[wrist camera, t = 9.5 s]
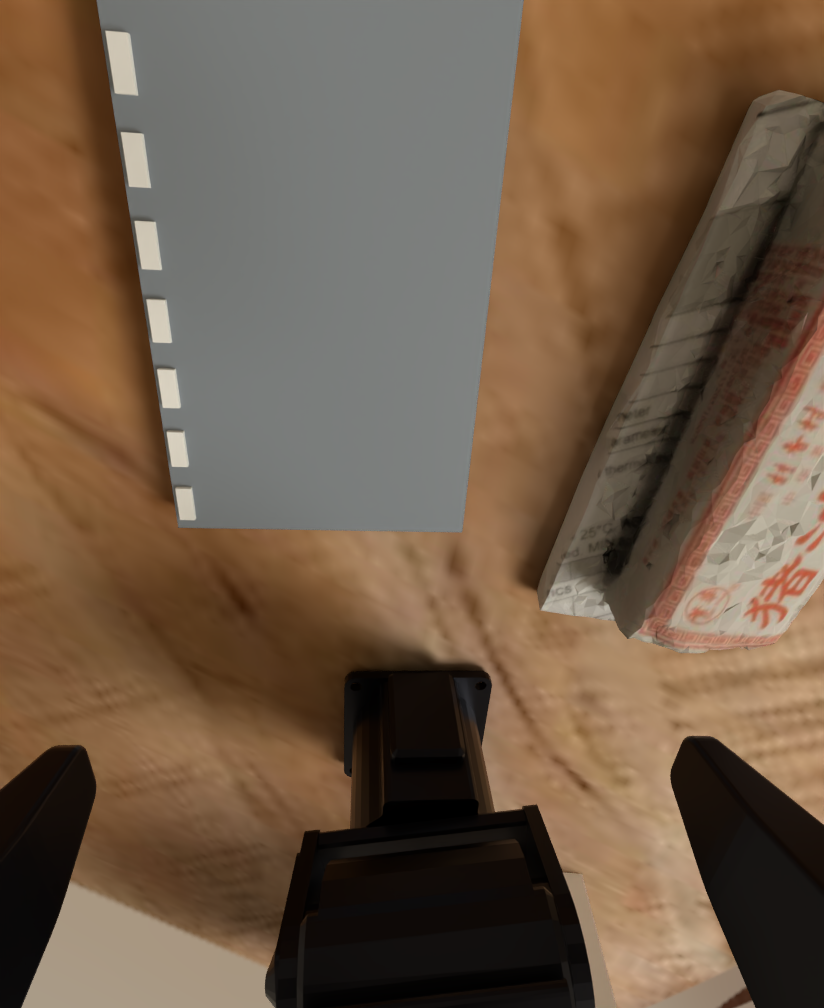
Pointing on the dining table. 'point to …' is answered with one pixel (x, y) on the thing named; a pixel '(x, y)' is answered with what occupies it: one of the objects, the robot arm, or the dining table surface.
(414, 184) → the board
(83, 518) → the dining table surface
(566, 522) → the packaged product
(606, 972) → the milk
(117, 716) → the dining table surface
